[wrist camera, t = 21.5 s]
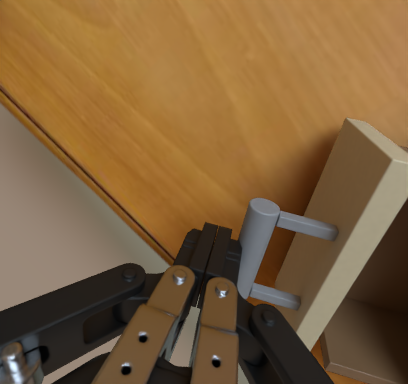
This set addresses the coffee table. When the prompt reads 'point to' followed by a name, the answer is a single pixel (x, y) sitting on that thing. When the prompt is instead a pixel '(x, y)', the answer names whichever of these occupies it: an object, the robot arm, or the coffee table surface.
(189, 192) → the coffee table surface
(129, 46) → the coffee table surface
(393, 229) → the drawer
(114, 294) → the robot arm
